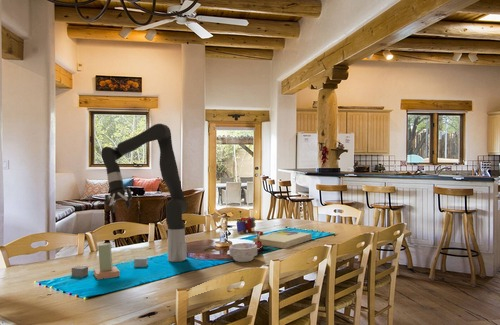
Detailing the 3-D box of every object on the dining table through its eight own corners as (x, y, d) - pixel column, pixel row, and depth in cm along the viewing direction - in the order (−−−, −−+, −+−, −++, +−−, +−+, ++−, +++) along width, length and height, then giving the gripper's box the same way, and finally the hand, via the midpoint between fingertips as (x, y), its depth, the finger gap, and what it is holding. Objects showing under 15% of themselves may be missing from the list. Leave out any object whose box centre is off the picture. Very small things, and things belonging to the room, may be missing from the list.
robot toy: (233, 234, 306) (251, 228, 320) (241, 235, 300) (260, 229, 314) (231, 211, 305) (249, 206, 319) (240, 212, 298) (258, 207, 313)
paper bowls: (223, 261, 221) (223, 246, 221) (239, 255, 233) (239, 241, 233) (247, 265, 212) (247, 249, 212) (262, 259, 225) (262, 244, 225)
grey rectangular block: (88, 275, 196) (88, 266, 195) (82, 277, 192) (82, 268, 192) (77, 274, 197) (77, 265, 197) (71, 276, 193) (71, 267, 193)
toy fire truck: (253, 251, 245) (253, 234, 245) (258, 246, 259) (258, 230, 259) (259, 251, 245) (259, 235, 244) (263, 246, 258) (263, 231, 258)
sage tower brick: (112, 267, 198) (110, 242, 198) (111, 270, 193) (109, 244, 193) (101, 268, 197) (99, 243, 197) (100, 271, 192) (98, 245, 192)
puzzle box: (252, 244, 266) (284, 249, 251) (252, 237, 266) (284, 241, 251) (282, 236, 295) (312, 240, 280) (282, 230, 295) (312, 233, 280)
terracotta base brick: (115, 272, 202) (115, 266, 202) (119, 277, 193) (119, 271, 193) (93, 275, 197) (93, 268, 197) (96, 280, 188) (96, 273, 188)
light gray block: (147, 264, 214) (147, 257, 214) (146, 266, 210) (146, 259, 210) (135, 265, 214) (135, 257, 214) (134, 267, 210) (134, 259, 210)
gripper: (100, 184, 223) (105, 213, 219) (124, 176, 222) (130, 205, 218) (106, 186, 230) (111, 214, 226) (130, 179, 229) (136, 207, 225)
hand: (121, 210), depth 222 cm, fingers open, 8 cm apart
